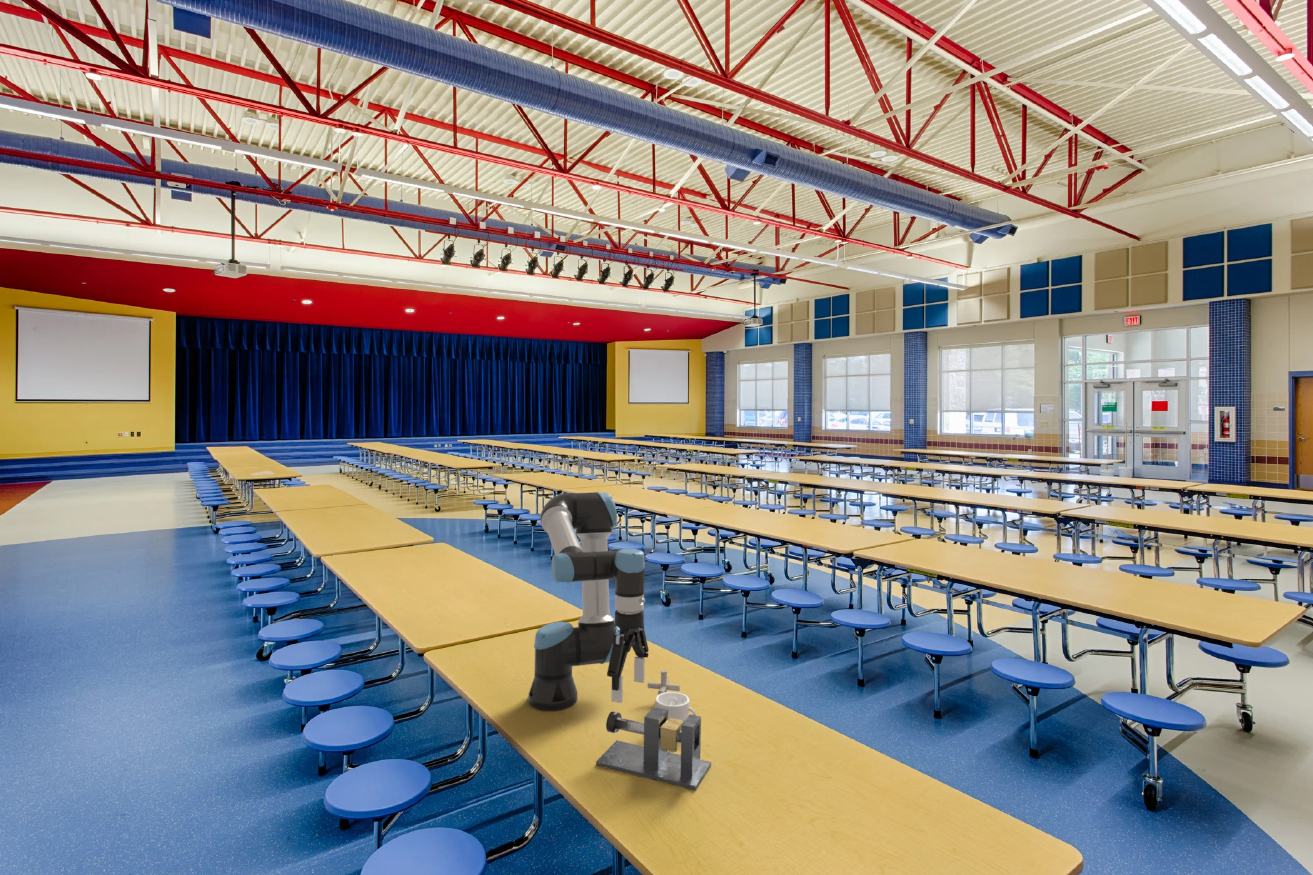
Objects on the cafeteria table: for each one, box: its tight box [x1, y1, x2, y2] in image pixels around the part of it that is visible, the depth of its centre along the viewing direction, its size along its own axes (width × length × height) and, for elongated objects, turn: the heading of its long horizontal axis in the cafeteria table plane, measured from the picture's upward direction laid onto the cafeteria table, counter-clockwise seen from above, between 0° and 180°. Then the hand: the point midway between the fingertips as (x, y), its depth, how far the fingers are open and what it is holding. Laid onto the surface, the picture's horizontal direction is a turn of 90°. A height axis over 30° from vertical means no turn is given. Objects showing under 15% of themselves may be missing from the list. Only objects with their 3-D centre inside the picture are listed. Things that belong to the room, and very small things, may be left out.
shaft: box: [605, 710, 695, 744], centre depth 168 cm, size 23×5×5 cm, turn 67°
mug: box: [654, 691, 697, 721], centre depth 187 cm, size 12×10×9 cm
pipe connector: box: [646, 669, 681, 696], centre depth 205 cm, size 10×10×10 cm
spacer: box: [661, 718, 684, 753], centre depth 166 cm, size 4×6×6 cm
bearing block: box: [595, 707, 712, 791], centre depth 168 cm, size 27×12×14 cm, turn 67°
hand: (628, 691), depth 170 cm, fingers open, 13 cm apart
